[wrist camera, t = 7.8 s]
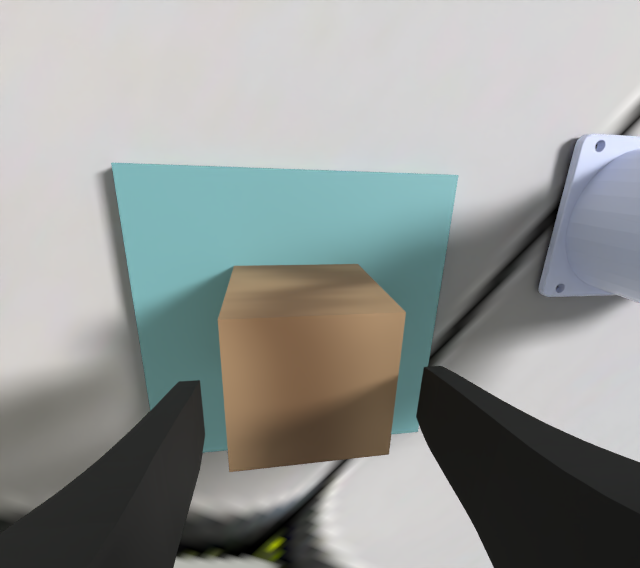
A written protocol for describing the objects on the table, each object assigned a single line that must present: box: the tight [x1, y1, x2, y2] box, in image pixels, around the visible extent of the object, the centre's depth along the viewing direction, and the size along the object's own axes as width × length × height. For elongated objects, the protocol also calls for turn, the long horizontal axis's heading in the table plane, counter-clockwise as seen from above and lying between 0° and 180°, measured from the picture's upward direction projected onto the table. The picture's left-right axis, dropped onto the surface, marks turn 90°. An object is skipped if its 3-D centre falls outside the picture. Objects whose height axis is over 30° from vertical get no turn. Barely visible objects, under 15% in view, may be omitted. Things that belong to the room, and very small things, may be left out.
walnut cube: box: [218, 264, 406, 472], centre depth 13 cm, size 6×6×6 cm
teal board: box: [111, 163, 458, 453], centre depth 16 cm, size 14×14×1 cm
